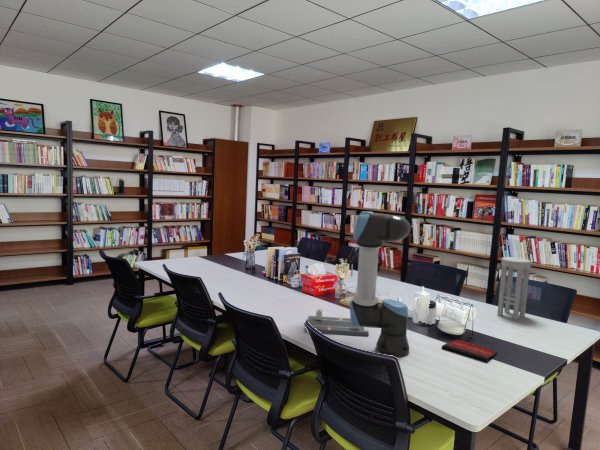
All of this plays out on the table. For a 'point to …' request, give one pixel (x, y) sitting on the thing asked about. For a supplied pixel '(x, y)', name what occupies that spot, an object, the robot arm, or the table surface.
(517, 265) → the stool
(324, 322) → the console
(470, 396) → the table surface
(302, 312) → the table surface
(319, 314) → the fader
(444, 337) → the table surface
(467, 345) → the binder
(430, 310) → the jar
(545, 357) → the table surface
